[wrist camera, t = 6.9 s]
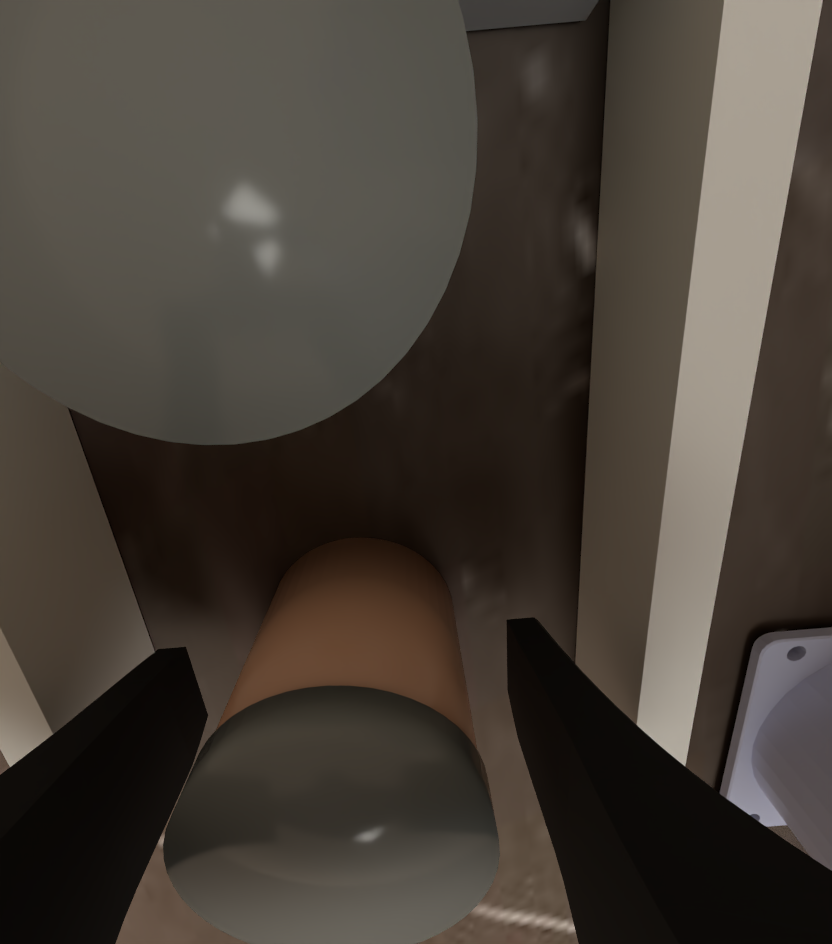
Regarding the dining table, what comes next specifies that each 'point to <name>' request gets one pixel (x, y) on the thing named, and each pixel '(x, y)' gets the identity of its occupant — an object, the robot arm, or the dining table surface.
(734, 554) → the dining table surface
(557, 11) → the pusher
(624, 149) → the u-frame with teal panels
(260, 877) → the terracotta jar
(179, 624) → the dining table surface
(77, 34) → the sage jar
